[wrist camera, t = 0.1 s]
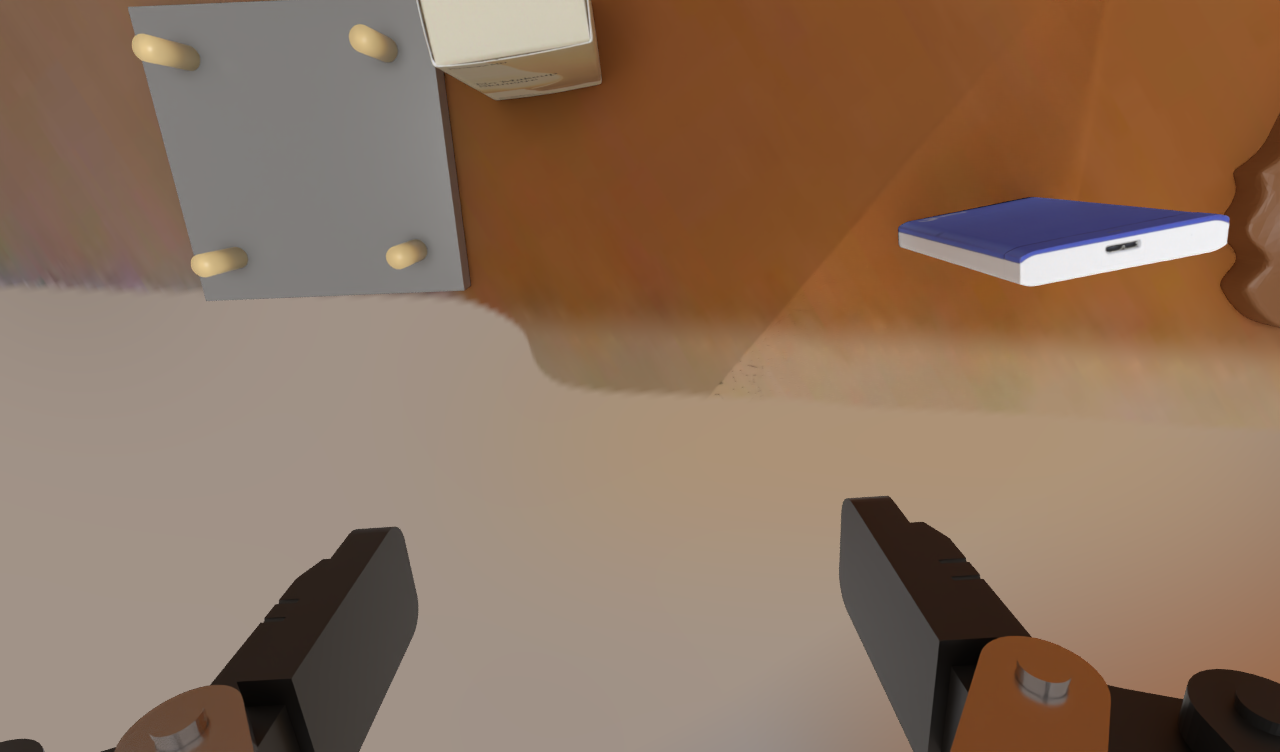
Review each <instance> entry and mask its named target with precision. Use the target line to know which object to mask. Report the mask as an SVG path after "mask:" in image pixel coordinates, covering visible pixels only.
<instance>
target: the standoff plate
mask: <svg viewBox="0 0 1280 752" xmlns="http://www.w3.org/2000/svg"><path fill="white" fill-rule="evenodd" d="M128 10H129V14H130V17H131V21H132V25H133V29H134V32H135V37H134V38H133V40H132V49H133V51H134V53H135V55H136V56H137V57H138V58H139V59H140V60H142V62H143V66H144V70H145V74H146V77H147V81H148V85H149V89H150V92H151V96H152V100H153V104H154V107H155V111H156V115H157V119H158V122H159V126H160V130H161V134H162V137H163V141H164V145H165V149H166V152H167V156H168V160H169V164H170V167H171V171H172V175H173V179H174V182H175V186H176V190H177V194H178V197H179V201H180V205H181V209H182V212H183V216H184V220H185V224H186V227H187V231H188V235H189V239H190V242H191V246H192V250H193V254H194V257H193V258H192V260H191V267H192V269H193V271H194V272H195V273H196V274H197V275H199V276H200V280H201V284H202V287H203V291H204V295H205V299H206V301H215V300H216V301H217V300H242V299H267V298H291V297H316V296H340V295H365V294H389V293H414V292H438V291H463V290H466V289H467V288H468V287H470V286H471V283H470V275H469V268H468V260H467V252H466V244H465V236H464V228H463V221H462V213H461V205H460V197H459V189H458V181H457V174H456V166H455V158H454V150H453V142H452V134H451V126H450V119H449V111H448V103H447V95H446V87H445V79H444V72H443V71H442V70H440V69H438V68H436V67H434V66H433V65H432V62H431V58H430V54H429V50H428V47H427V43H426V40H425V36H424V32H423V27H422V23H421V19H420V15H419V11H418V6H417V2H416V0H280V1H257V2H233V3H210V4H187V5H164V6H141V7H128Z"/></svg>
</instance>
